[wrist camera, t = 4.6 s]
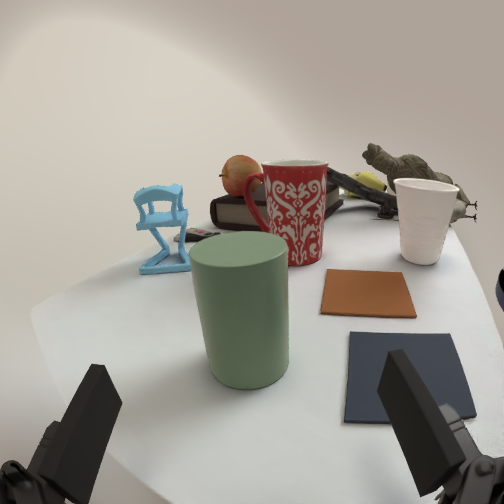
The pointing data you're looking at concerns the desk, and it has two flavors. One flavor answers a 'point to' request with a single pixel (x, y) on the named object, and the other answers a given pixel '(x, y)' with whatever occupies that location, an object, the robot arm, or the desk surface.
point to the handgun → (359, 188)
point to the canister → (243, 306)
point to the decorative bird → (460, 210)
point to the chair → (163, 225)
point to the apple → (239, 174)
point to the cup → (423, 217)
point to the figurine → (386, 209)
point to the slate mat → (423, 359)
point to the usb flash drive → (196, 235)
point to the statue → (405, 168)
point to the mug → (293, 205)
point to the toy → (366, 181)
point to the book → (239, 217)
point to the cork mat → (366, 294)
